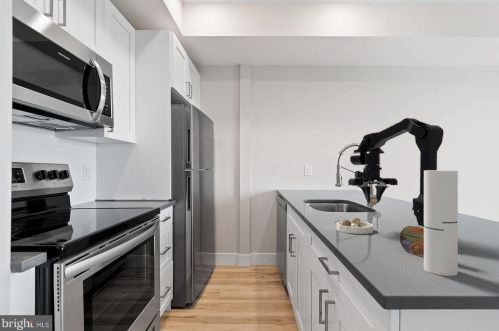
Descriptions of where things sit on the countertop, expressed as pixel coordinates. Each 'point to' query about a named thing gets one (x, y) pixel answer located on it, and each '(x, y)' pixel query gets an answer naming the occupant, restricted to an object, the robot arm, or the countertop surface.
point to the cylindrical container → (441, 222)
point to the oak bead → (356, 221)
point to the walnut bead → (346, 223)
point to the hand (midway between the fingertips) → (372, 202)
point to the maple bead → (373, 201)
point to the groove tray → (355, 228)
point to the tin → (413, 240)
